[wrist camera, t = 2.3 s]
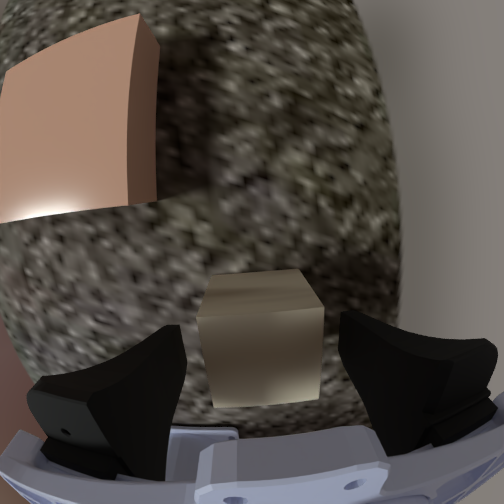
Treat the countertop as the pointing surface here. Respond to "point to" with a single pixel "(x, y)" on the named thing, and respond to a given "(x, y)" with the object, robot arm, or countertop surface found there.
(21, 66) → the terracotta box
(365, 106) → the countertop surface
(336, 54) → the countertop surface
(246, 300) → the metal block
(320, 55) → the countertop surface
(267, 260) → the countertop surface
